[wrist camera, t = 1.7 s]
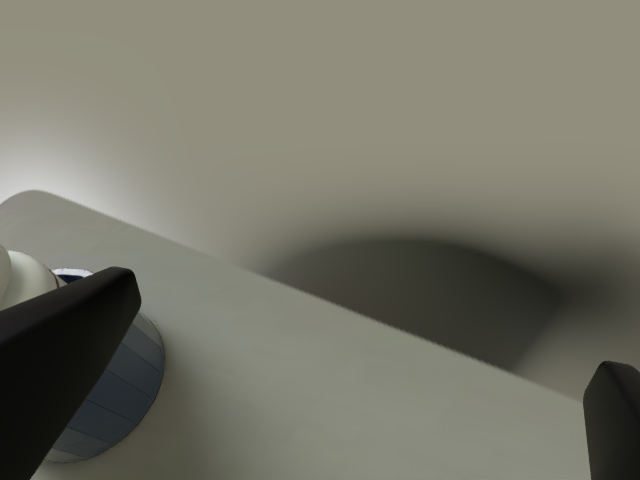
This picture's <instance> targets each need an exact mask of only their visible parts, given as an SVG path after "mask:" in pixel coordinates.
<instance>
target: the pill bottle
mask: <svg viewBox="0 0 640 480" xmlns="http://www.w3.org/2000/svg"><path fill="white" fill-rule="evenodd" d="M64 285H67V283H66V282H64V281H63V280H62V279H61V278H60V277H58V276H57V275H56V274H55V273H53V272H52V271H51V270H49V269H48V268H47V267H46V266H45V265H44V264H42V263H40V262H39V261H38V260H36V259H34V258H33V257H31V256H28V255H26V254H23V253H20V252H15V251H7V250H6V249H5V248H4V247H3V246H1V245H0V311H1V310H4V309H6V308H9V307H11V306H14V305H16V304H19V303H21V302H24V301H26V300H29V299H31V298H34V297H36V296H39V295H42V294H44V293H47V292H49V291H52V290H54V289H57V288H59V287H62V286H64Z"/></svg>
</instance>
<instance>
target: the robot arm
mask: <svg viewBox="0 0 640 480" xmlns="http://www.w3.org/2000/svg"><path fill="white" fill-rule="evenodd" d="M140 307H141V296H140V292H139V288H138V285H137V281H136V278H135V274H134V273H133V271H132V270H130V269H126V268H121V267H109V268H107V269H104V270H102V271H99V272H97V273H94V274H92V275H89V276H87V277H84V278H82V279H79V280H77V281H74V282H72V283H69V284H67V285H64V286H62V287H59V288H57V289H54V290H52V291H49V292H47V293H44V294H42V295H39V296H36V297H34V298H31V299H29V300H26V301H24V302H21V303H19V304H16V305H14V306H11V307H9V308H6V309H4V310H1V311H0V480H30V479H31V477H32V476H33V475H34V473H35V472H36V470H37V469H38V467H39V466H40V465H41V463H42V462H43V460H44V459H45V457H46V456H47V454H48V453H49V452H50V450H51V449H52V447H53V446H54V444H55V443H56V441H57V440H58V439H59V437H60V436H61V434H62V433H63V431H64V430H65V428H66V427H67V426H68V424H69V423H70V421H71V420H72V418H73V417H74V416H75V414H76V413H77V411H78V410H79V408H80V407H81V405H82V404H83V403H84V401H85V400H86V398H87V397H88V395H89V394H90V392H91V391H92V390H93V388H94V387H95V385H96V384H97V382H98V381H99V379H100V378H101V376H102V375H103V373H104V372H105V370H106V369H107V367H108V365H109V363H110V362H111V360H112V358H113V357H114V355H115V353H116V351H117V349H118V348H119V346H120V344H121V342H122V340H123V339H124V337H125V335H126V333H127V331H128V330H129V328H130V326H131V324H132V322H133V321H134V319H135V317H136V315H137V313H138V312H139V310H140ZM583 408H584V417H585V426H586V435H587V445H588V454H589V463H590V472H591V480H640V372H639V371H638V370H636V369H635V368H634V367H633V366H630V365H628V364H623V363H617V362H612V361H604V362H602V363H601V364H600V365H599V367H598V368H597V370H596V372H595V374H594V376H593V378H592V379H591V381H590V383H589V385H588V386H587V388H586V390H585V393H584V397H583Z"/></svg>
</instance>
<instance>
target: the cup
mask: <svg viewBox="0 0 640 480" xmlns="http://www.w3.org/2000/svg"><path fill="white" fill-rule="evenodd" d="M51 271H52V272H53V273H55V274H56V275H57V276H58V277H60V278H61V279H62V280H63V281H64V282H66V283H67V284H69V283H72V282H74V281H77V280H79V279H82V278H84V277H87V276H89V275H92V274H94V273H93V272H91V271H88V270H85V269H72V268H61V269H56V270H51ZM164 356H165V355H164V347H163V343H162V340H161V337H160V335H159V333H158V331H157V329H156V328H155V326H154V325H153V324H152V323H151V322H150V321H149V320H148V319H147V318H146V316H145V315H144V314H143V313H142V312H141V311H139V312H138V313H137V315H136V317H135V319H134V321H133V322H132V324H131V326H130V328H129V330H128V331H127V333H126V335H125V337H124V339H123V340H122V342H121V344H120V346H119V348H118V349H117V351H116V353H115V355H114V357H113V358H112V360H111V362H110V363H109V365H108V367H107V369H106V370H105V372H104V373H103V375H102V376H101V378H100V379H99V381H98V382H97V384H96V385H95V387H94V388H93V390H92V391H91V392H90V394H89V395H88V397H87V398H86V400H85V401H84V403H83V404H82V405H81V407H80V408H79V410H78V411H77V413H76V414H75V416H74V417H73V418H72V420H71V421H70V423H69V424H68V426H67V427H66V428H65V430H64V431H63V433H62V434H61V436H60V437H59V439H58V440H57V441H56V443H55V444H54V446H53V447H52V449H51V450H50V452H49V453H48V454H47V456H46V457H45V459H44V460H45V461H50V462H55V463H69V462H77V461H81V460H85V459H88V458H90V457H93V456H96V455H98V454H100V453H102V452H104V451H105V450H107V449H109V448H110V447H112V446H113V445H115V444H116V443H118V442H119V441H120V440H121V439H123V438H124V437H125V436H126V435H127V434H129V432H130V431H131V430H132V429H133V428H134V427H135V426H136V425H137V424H138V423H139V422H140V420H141V419H142V418H143V417H144V415H145V414H146V412H147V411H148V409H149V408H150V406H151V404H152V402H153V400H154V399H155V397H156V394H157V392H158V389H159V387H160V384H161V380H162V376H163V371H164Z"/></svg>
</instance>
